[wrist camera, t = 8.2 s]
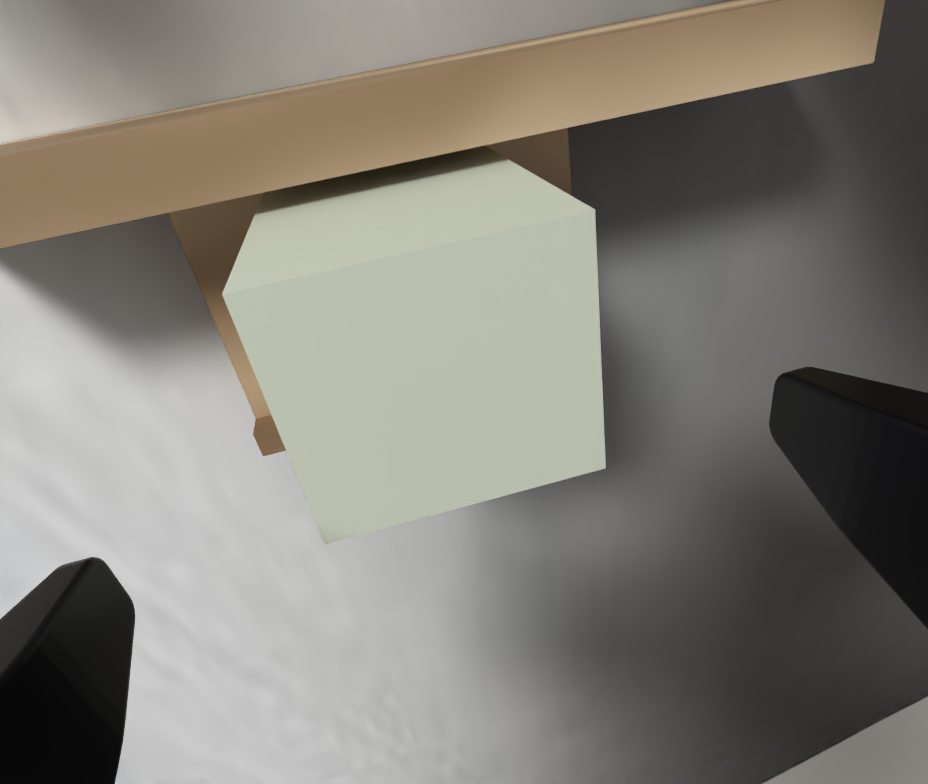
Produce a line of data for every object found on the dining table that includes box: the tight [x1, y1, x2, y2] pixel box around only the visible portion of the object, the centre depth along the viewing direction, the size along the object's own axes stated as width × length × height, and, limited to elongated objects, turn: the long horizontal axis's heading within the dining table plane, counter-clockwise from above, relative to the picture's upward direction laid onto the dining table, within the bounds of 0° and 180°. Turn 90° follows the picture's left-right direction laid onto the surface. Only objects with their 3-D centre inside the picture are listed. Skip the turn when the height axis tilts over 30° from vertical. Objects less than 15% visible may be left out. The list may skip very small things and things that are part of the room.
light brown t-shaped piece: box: [0, 0, 885, 456], centre depth 15 cm, size 9×22×5 cm, turn 99°
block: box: [222, 146, 606, 544], centre depth 13 cm, size 6×6×7 cm
